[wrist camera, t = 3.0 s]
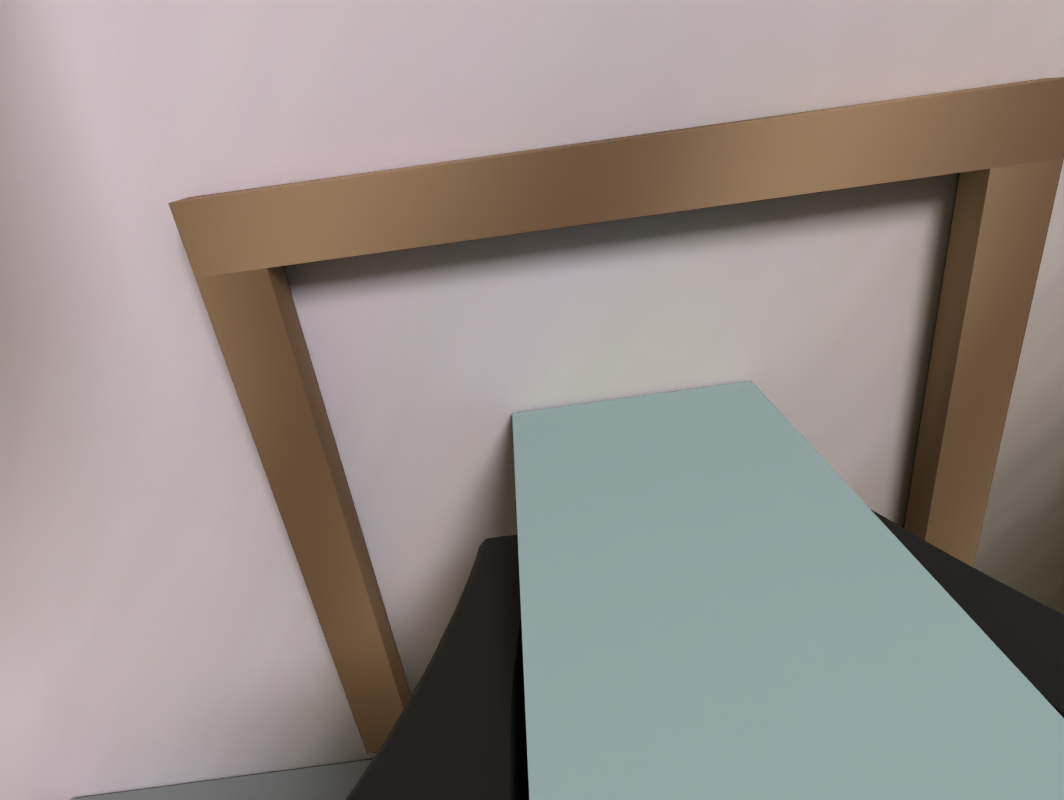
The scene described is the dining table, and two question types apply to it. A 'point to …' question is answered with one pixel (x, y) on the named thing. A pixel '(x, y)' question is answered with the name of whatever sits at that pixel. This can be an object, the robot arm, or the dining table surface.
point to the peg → (744, 623)
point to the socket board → (259, 786)
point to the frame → (612, 194)
